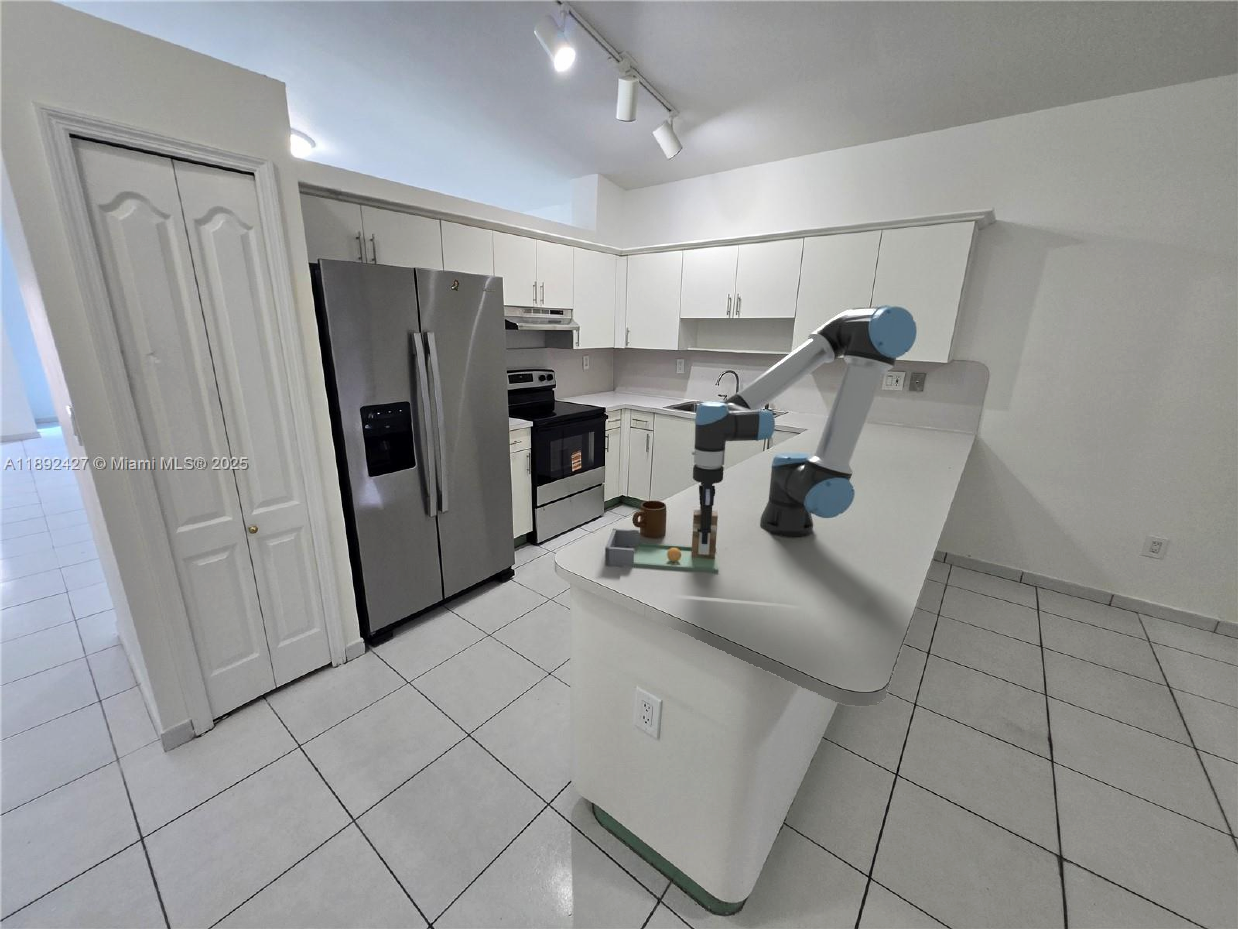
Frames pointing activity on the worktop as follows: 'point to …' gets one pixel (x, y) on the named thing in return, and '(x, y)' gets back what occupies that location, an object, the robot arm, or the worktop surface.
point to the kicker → (696, 535)
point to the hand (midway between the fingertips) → (703, 549)
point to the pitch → (651, 554)
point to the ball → (674, 554)
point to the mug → (651, 519)
